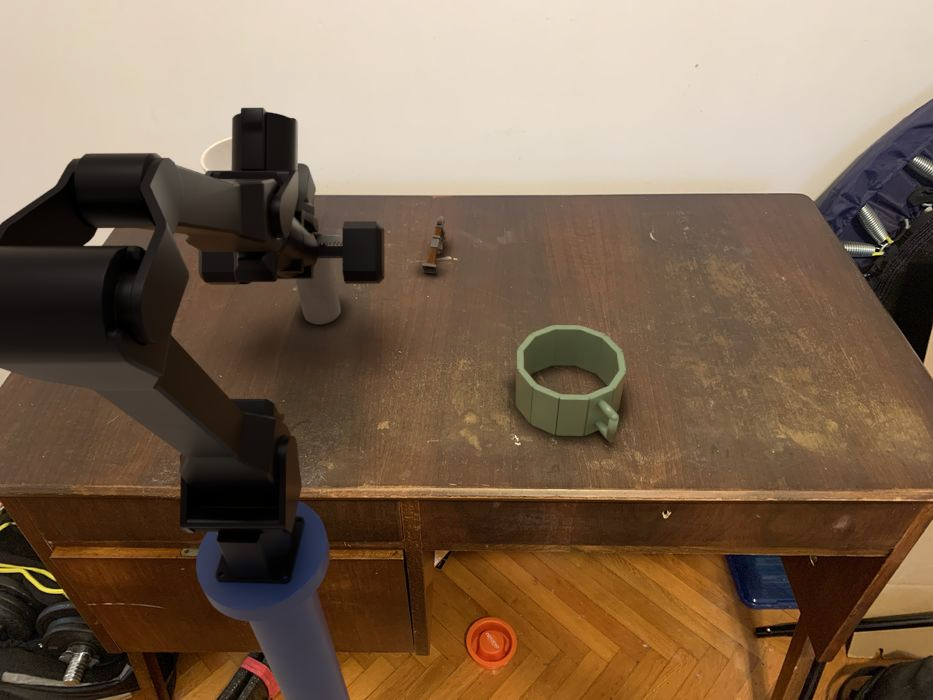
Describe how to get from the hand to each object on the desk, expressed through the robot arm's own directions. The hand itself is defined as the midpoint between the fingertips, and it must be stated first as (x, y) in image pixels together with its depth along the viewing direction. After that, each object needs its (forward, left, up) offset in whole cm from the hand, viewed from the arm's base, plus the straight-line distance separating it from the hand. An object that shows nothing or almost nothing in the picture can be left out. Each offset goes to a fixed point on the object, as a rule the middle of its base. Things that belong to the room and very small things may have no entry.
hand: (311, 266), depth 83 cm
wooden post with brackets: (+12, -13, -8) cm, 20 cm away
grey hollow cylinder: (+1, 0, -8) cm, 8 cm away
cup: (+17, +11, -8) cm, 22 cm away
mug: (-14, -30, -8) cm, 33 cm away
